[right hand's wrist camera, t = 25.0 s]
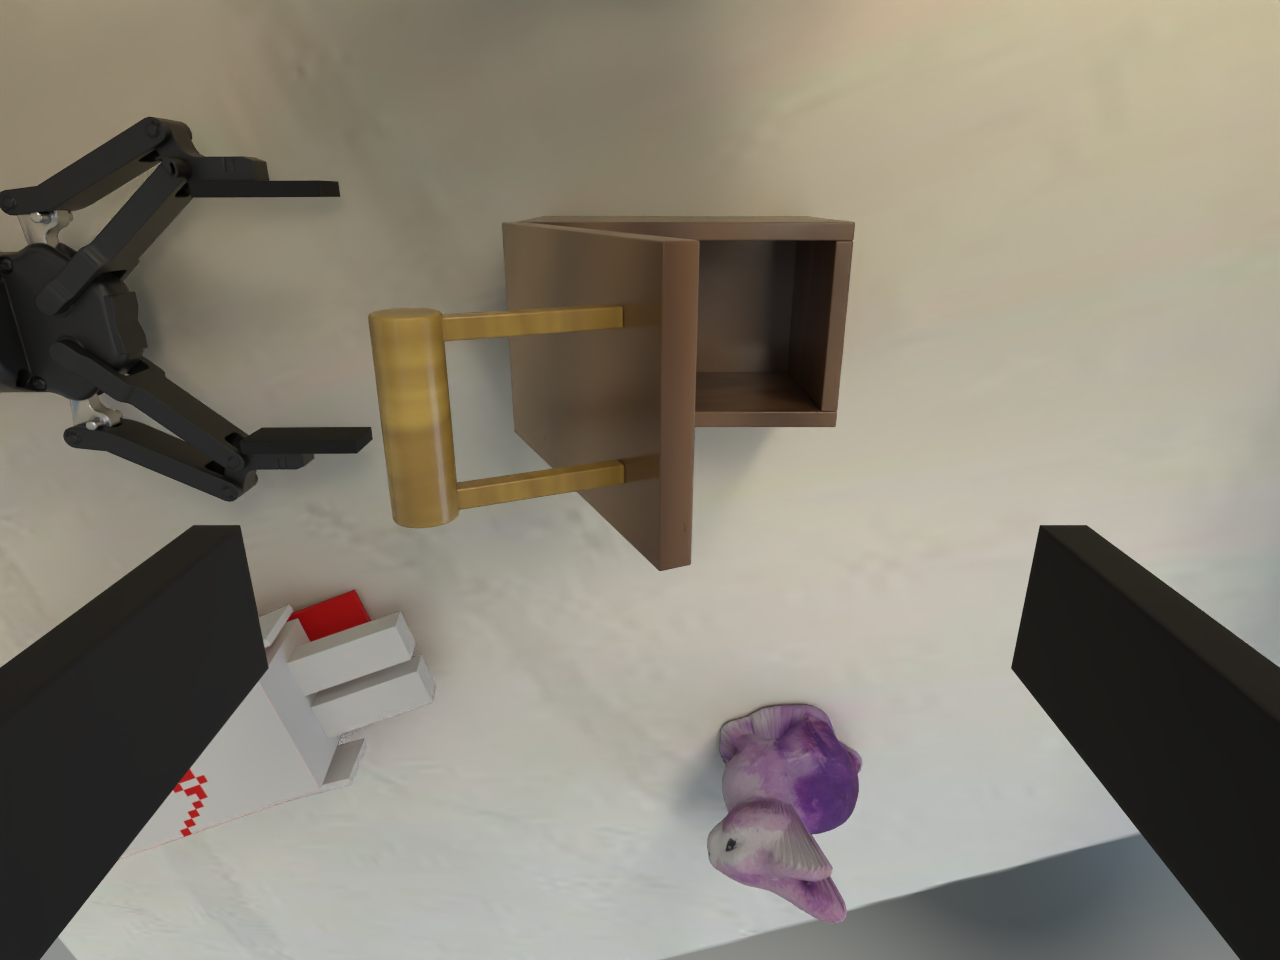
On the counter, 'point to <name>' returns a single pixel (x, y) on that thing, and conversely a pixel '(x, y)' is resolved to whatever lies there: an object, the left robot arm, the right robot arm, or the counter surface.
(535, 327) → the lid
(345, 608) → the toy
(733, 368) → the chest
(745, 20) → the counter surface
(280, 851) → the counter surface
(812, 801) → the figurine
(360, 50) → the counter surface
